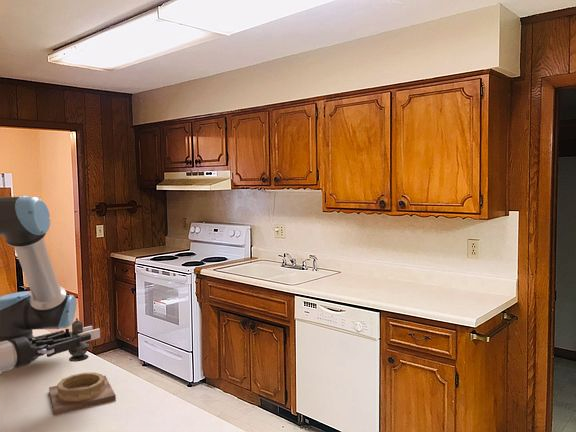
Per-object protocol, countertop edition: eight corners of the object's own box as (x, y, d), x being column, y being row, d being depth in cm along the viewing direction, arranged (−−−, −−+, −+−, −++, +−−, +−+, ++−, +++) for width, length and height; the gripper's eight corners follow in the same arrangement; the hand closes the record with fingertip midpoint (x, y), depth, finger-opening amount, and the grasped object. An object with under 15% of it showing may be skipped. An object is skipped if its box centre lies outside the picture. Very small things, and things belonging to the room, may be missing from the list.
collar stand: (49, 392, 144) (48, 377, 144) (105, 380, 152) (104, 366, 152) (54, 414, 131) (53, 398, 130) (115, 400, 139) (115, 385, 138)
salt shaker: (81, 362, 137) (79, 321, 136) (63, 361, 138) (61, 320, 137) (93, 355, 142) (92, 315, 141) (76, 353, 144) (74, 314, 143)
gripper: (-1, 360, 131) (82, 338, 149) (25, 376, 121) (111, 349, 139) (-2, 333, 131) (81, 314, 149) (23, 347, 120) (110, 324, 138)
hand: (95, 331), depth 144 cm, fingers closed on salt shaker, 4 cm apart
